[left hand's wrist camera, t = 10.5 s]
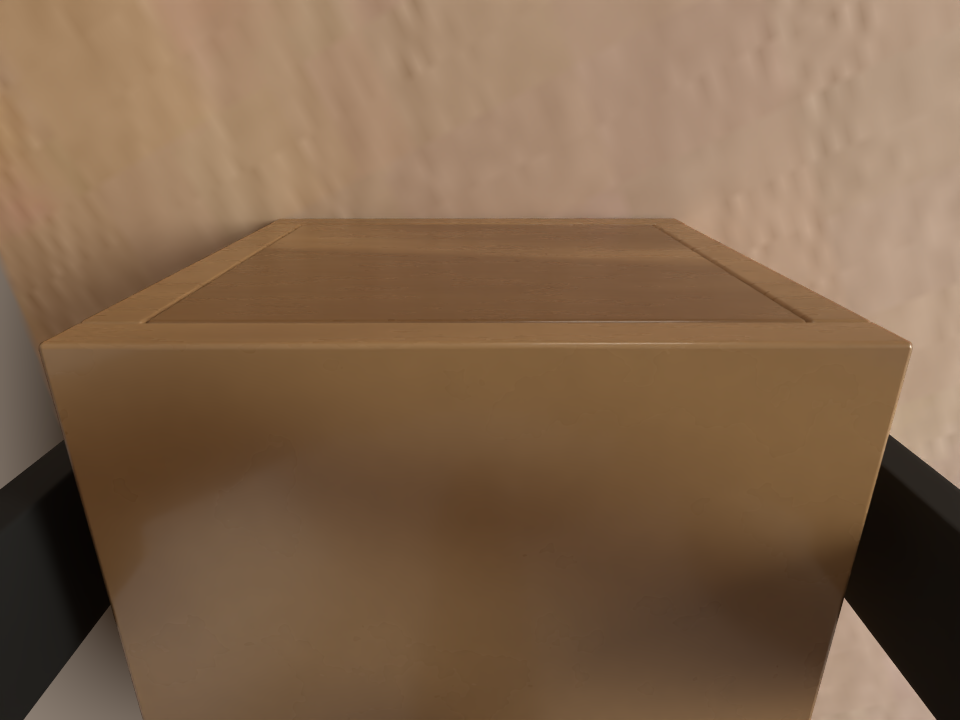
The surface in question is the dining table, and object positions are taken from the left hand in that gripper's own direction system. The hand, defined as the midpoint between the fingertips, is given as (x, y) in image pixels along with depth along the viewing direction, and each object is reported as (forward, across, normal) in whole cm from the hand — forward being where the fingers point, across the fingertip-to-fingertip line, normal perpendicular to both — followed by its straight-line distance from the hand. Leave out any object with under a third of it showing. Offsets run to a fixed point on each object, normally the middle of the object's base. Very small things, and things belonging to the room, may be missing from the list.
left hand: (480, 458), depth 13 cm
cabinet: (+6, 0, -6) cm, 8 cm away
